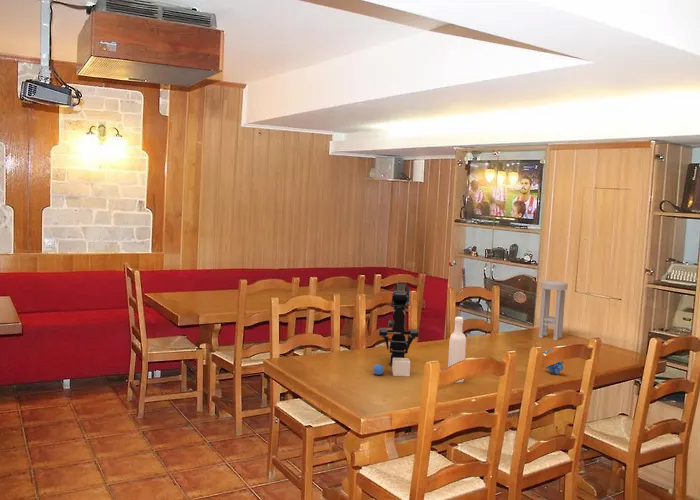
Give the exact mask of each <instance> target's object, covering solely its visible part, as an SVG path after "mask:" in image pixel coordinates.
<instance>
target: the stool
mask: <svg viewBox="0 0 700 500" xmlns="http://www.w3.org/2000/svg"><path fill="white" fill-rule="evenodd" d="M568 286H569V285H568V283H567V282H566V281H561V280H549V279H548V280H545V279H544V280H541V281H540V288H541V297H540V312H539V327H538V328H539V329H538V338H540V339H543V338H544V336H545V337H546V336H548V335H549V334H548V333H549V332H548V331H549V327H553V341H558V340H559V339H561V338H563V329H564V315H565V314H564V313H565V302H566V301H565V299H566V291H568ZM551 290H552V291H556V295H555V296H556V297H555V309H554V310H555V311H554V316H550V306H551V305H550V303H551Z"/></svg>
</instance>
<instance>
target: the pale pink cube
mask: <svg viewBox="0 0 700 500" xmlns="http://www.w3.org/2000/svg"><path fill="white" fill-rule="evenodd" d="M391 366H392V367H391V368H392V369H391V372H392V373H391V374H392V376H393V377H410V375H411V361H410V359H409V358H408V357H404V358H393V362H392V365H391Z"/></svg>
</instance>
